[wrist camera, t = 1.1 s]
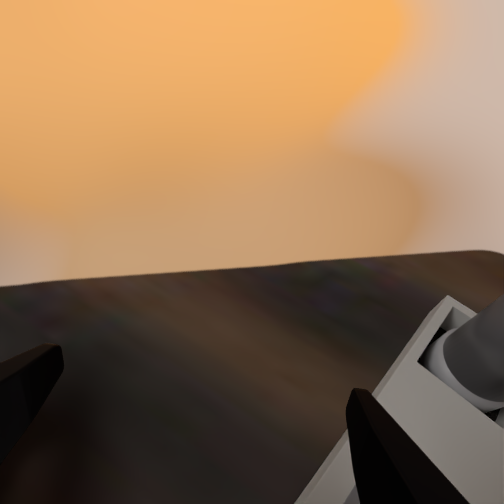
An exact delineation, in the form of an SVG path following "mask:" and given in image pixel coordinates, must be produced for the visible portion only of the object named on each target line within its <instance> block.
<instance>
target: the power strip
mask: <svg viewBox="0 0 504 504" xmlns="http://www.w3.org/2000/svg"><path fill="white" fill-rule="evenodd" d="M475 315H477V313H475V312H474V311H472V310H470V309H469V308H467V307H466V306H464V305H463V304H461V303H459V302H458V301H456V300H455V299H453V298H451V297H450V296H448V295H447V296H446V297H445V298H444V299H443V300H442V301H441V302H440V303H439V304H438V305H437V306H436V307H435V308H434V309H432V310H431V311H430V312H429V314H428V315H427V317H426V318H425V320H424V321H423V322H422V324H421V325H420V327H419V328H418V329H417V331H416V332H415V334H414V335H413V337H412V338H411V339H410V341H409V342H408V344H407V345H406V346H405V348H404V349H403V351H402V352H401V354H400V355H399V356H398V358H397V359H396V361H395V362H394V363H393V365H392V366H391V368H390V369H389V370H388V372H387V373H386V375H385V376H384V378H383V379H382V380H381V382H380V383H379V385H378V386H377V387H376V389H375V390H374V392H373V393H372V395H373V396H374V398H375V399H376V400H377V401H378V402H379V403H380V404H381V405H382V406H383V408H384V409H385V410H386V411H387V412H388V413H389V414H390V415H391V416H392V417H393V419H394V420H395V421H396V422H397V423H398V424H399V425H400V426H401V427H402V429H403V430H404V431H405V432H406V433H407V434H408V435H409V436H410V437H411V439H412V440H413V441H414V442H415V443H416V444H417V445H418V446H419V447H420V449H421V450H422V451H423V452H424V453H425V454H426V455H427V456H428V457H429V459H430V460H431V461H432V462H433V463H434V464H435V465H436V466H437V467H438V469H439V470H440V471H441V472H442V473H443V474H444V475H445V476H446V477H447V479H448V480H449V481H450V482H451V483H452V484H453V485H454V486H455V487H456V489H457V490H458V491H459V492H460V493H461V494H462V495H463V496H464V497H465V499H466V500H467V501H468V502H469V503H470V504H504V407H502V408H501V409H500V411H499V414H498V416H497V419H496V421H495V422H494V421H492V420H491V419H490V418H489V417H487V416H486V415H485V414H483V413H482V412H481V411H480V410H478V409H477V408H476V407H474V406H473V405H472V404H471V403H469V402H468V401H467V400H465V399H464V398H463V397H462V396H460V395H459V394H458V393H456V392H455V391H454V390H453V389H451V388H450V387H449V386H447V385H446V384H445V383H443V382H442V381H441V380H440V379H438V378H437V377H436V376H434V375H433V374H432V373H431V372H429V371H428V370H427V369H425V368H424V367H423V366H422V365H420V364H419V363H418V362H417V360H418V359H419V357H420V356H421V354H422V353H423V351H424V350H425V348H426V347H427V345H428V344H429V342H430V341H431V339H432V338H433V336H434V335H435V333H436V331H437V330H438V328H439V327H441V328H443V329H444V330H446V331H447V332H448V331H449V330H451V329H454V328H459V327H461V326H462V325H463V324H465V323H466V322H467V321H469V320H470V319H471V318H473V317H474V316H475ZM294 504H360V501H359V497H358V492H357V488H356V484H355V479H354V474H353V468H352V460H351V453H350V445H349V437H348V429H347V430H346V431H345V433H344V434H343V436H342V437H341V438H340V440H339V441H338V443H337V444H336V445H335V447H334V448H333V450H332V451H331V453H330V454H329V455H328V457H327V458H326V460H325V461H324V462H323V464H322V465H321V467H320V468H319V469H318V471H317V472H316V474H315V475H314V477H313V478H312V479H311V481H310V482H309V484H308V485H307V486H306V488H305V489H304V491H303V492H302V494H301V495H300V496H299V498H298V499H297V501H296V502H295V503H294Z"/></svg>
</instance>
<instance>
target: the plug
mask: <svg viewBox="0 0 504 504" xmlns="http://www.w3.org/2000/svg"><path fill="white" fill-rule="evenodd" d="M420 365H422V366H423V367H424V368H425V369H427V370H428V371H429V372H431V373H432V374H433V375H434V376H436V377H437V378H438V379H440V380H441V381H442V382H443V383H445V384H446V385H447V386H449V387H450V388H451V389H453V390H454V391H455V392H456V393H458V394H459V395H460V396H462V397H463V398H464V399H465V400H467V401H468V402H469V403H471V404H472V405H473V406H474V407H476V408H477V409H478V410H480V411H481V412H482V413H486V412H490V411H493V410H496V409H499V408H502V407H504V294H503V295H502V296H501V297H499V298H498V299H497V300H495V301H494V302H493V303H491V304H490V305H489V306H487V307H486V308H485V309H483V310H482V311H481V312H479V313H478V314H477V315H475V316H474V317H473V318H471V319H470V320H469V321H467V322H466V323H465V324H463V325H462V326H461V327H459V328H454V329H451V330H449V331H448V332H446V333H445V334H444V335H442V336H441V337H440V338H438V339H437V340H436V341H435V342H433V343H432V344H431V345H429V346H428V347H427V348H426V349H425V350H424V351H423V353H422V355H421V358H420Z"/></svg>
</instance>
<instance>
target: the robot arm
mask: <svg viewBox="0 0 504 504" xmlns="http://www.w3.org/2000/svg"><path fill="white" fill-rule="evenodd" d="M63 369H64V361H63V355H62V349H61V347H60V345H58V344H51V343H44V344H42V345H39V346H37V347H35V348H33V349H30V350H28V351H26V352H24V353H21V354H19V355H17V356H15V357H12V358H10V359H8V360H6V361H3V362H1V363H0V464H1V463H2V461H3V460H4V459H5V457H6V456H7V455H8V453H9V452H10V451H11V449H12V448H13V447H14V445H15V444H16V443H17V441H18V440H19V438H20V437H21V436H22V434H23V433H24V432H25V430H26V429H27V428H28V426H29V425H30V423H31V422H32V420H33V419H34V417H35V416H36V414H37V413H38V411H39V410H40V408H41V406H42V405H43V403H44V401H45V400H46V398H47V397H48V395H49V393H50V392H51V390H52V388H53V387H54V385H55V384H56V382H57V380H58V379H59V377H60V376H61V374H62V372H63ZM346 421H347V429H348V437H349V445H350V453H351V460H352V468H353V474H354V479H355V484H356V488H357V492H358V497H359V501H360V504H470V503H469V502H468V501H467V500H466V499H465V497H464V496H463V495H462V494H461V493H460V492H459V491H458V490H457V489H456V487H455V486H454V485H453V484H452V483H451V482H450V481H449V480H448V479H447V477H446V476H445V475H444V474H443V473H442V472H441V471H440V470H439V469H438V467H437V466H436V465H435V464H434V463H433V462H432V461H431V460H430V459H429V457H428V456H427V455H426V454H425V453H424V452H423V451H422V450H421V449H420V447H419V446H418V445H417V444H416V443H415V442H414V441H413V440H412V439H411V437H410V436H409V435H408V434H407V433H406V432H405V431H404V430H403V429H402V427H401V426H400V425H399V424H398V423H397V422H396V421H395V420H394V419H393V417H392V416H391V415H390V414H389V413H388V412H387V411H386V410H385V409H384V408H383V406H382V405H381V404H380V403H379V402H378V401H377V400H376V399H375V398H374V396H373V395H372V394H371V393H370V392H369V391H368V390H366V389H359V388H354V389H353V390H352V391H351V394H350V397H349V400H348V403H347V407H346Z"/></svg>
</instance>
